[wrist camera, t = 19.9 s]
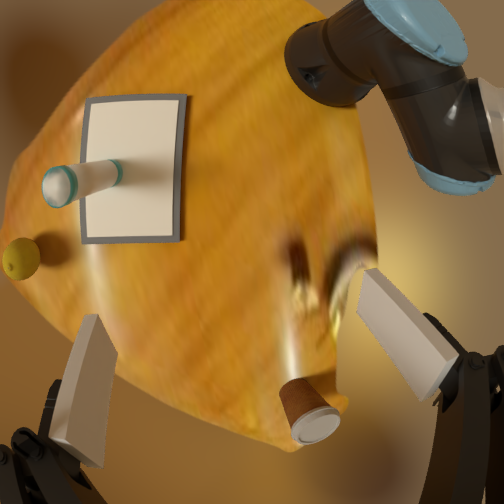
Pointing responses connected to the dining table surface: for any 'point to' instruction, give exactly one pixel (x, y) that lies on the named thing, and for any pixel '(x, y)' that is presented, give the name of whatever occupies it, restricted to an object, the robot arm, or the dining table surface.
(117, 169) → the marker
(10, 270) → the lemon
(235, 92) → the dining table surface
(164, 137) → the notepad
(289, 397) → the disposable coffee cup
